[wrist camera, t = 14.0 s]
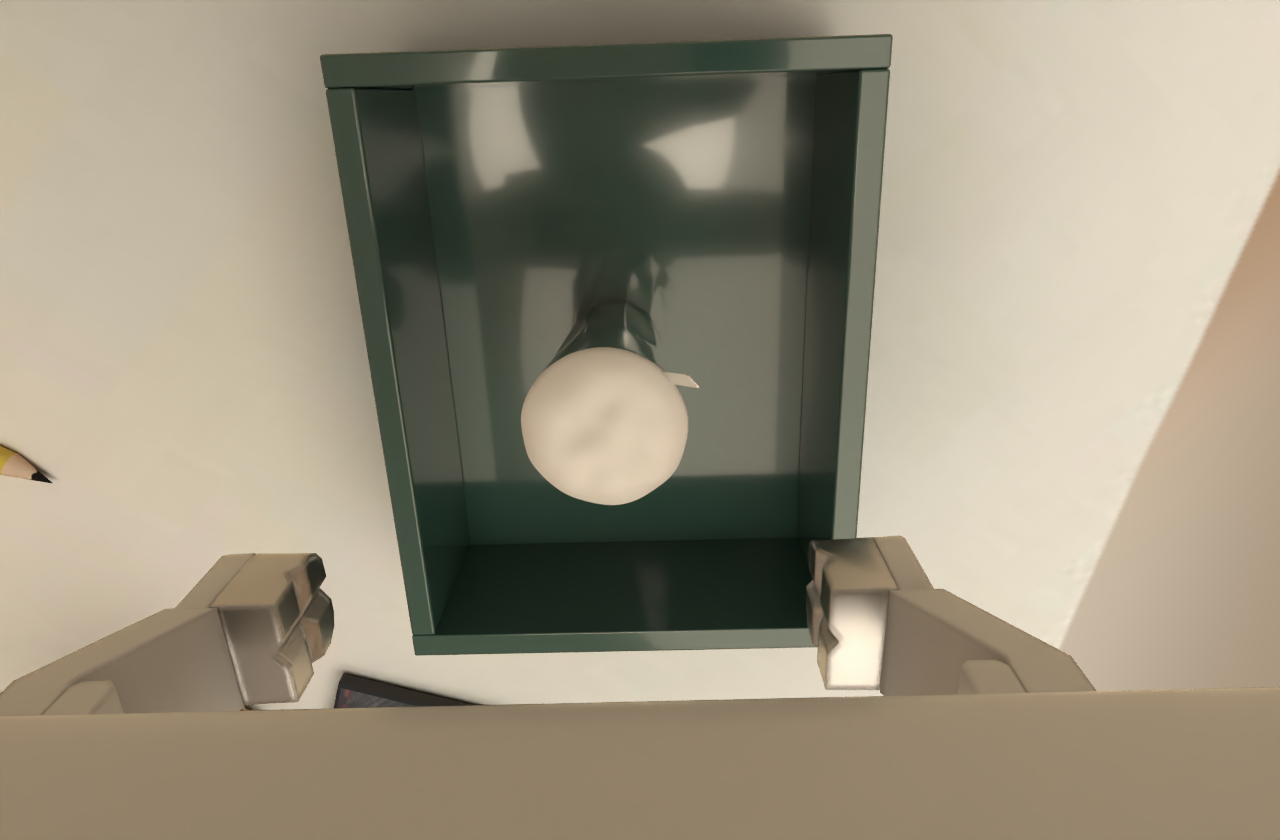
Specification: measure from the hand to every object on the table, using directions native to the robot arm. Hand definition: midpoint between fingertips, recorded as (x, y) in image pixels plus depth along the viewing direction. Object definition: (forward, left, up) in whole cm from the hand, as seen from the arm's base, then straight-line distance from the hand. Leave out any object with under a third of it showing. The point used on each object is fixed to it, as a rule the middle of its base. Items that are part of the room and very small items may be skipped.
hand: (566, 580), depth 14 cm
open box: (+1, +1, -18) cm, 18 cm away
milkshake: (+1, +1, -17) cm, 17 cm away
